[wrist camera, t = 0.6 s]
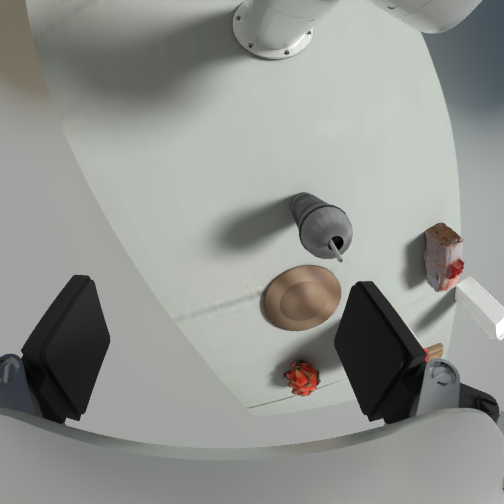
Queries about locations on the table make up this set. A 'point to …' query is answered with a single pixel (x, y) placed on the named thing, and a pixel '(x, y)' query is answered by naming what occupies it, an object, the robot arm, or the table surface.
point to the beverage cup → (321, 226)
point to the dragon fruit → (302, 378)
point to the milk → (481, 307)
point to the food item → (443, 257)
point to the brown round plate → (302, 298)
